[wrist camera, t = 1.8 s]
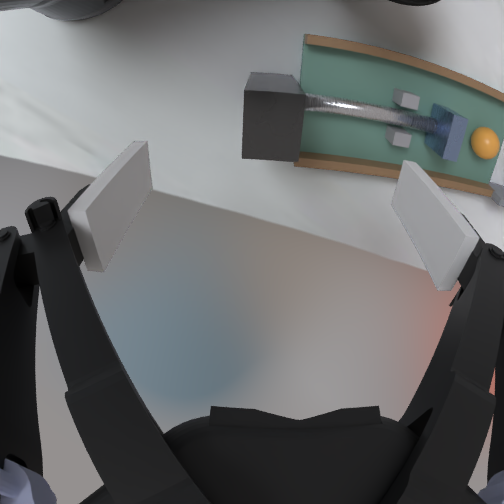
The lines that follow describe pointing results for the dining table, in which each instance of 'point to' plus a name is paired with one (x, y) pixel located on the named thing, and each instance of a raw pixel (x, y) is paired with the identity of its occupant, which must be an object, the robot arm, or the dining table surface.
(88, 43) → the dining table surface
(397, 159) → the lane
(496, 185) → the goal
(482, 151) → the ball
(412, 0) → the coffee cup
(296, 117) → the striker rod
